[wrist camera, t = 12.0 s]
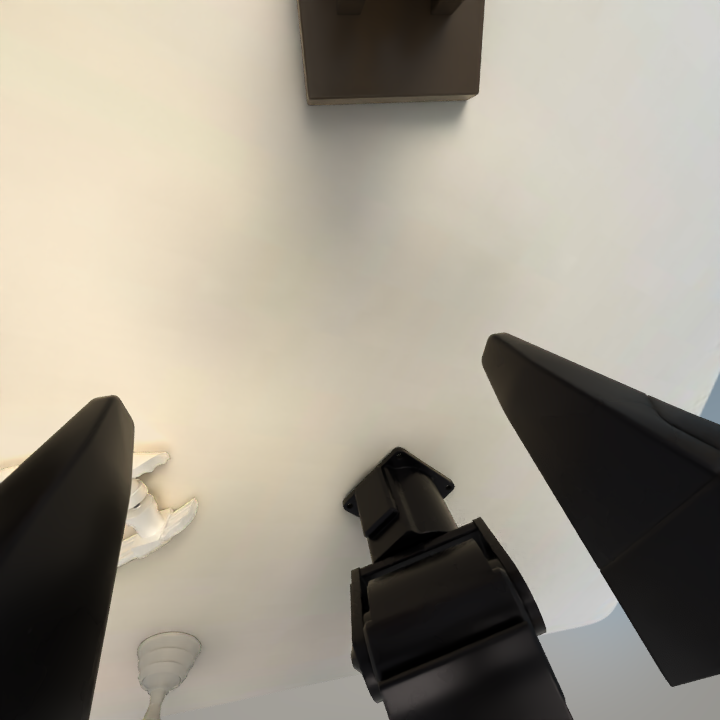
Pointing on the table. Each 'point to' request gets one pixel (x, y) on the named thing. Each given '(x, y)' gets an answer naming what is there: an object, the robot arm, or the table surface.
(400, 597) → the robot arm
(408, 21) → the bracket
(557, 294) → the table surface
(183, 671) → the chalice
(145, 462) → the door handle
